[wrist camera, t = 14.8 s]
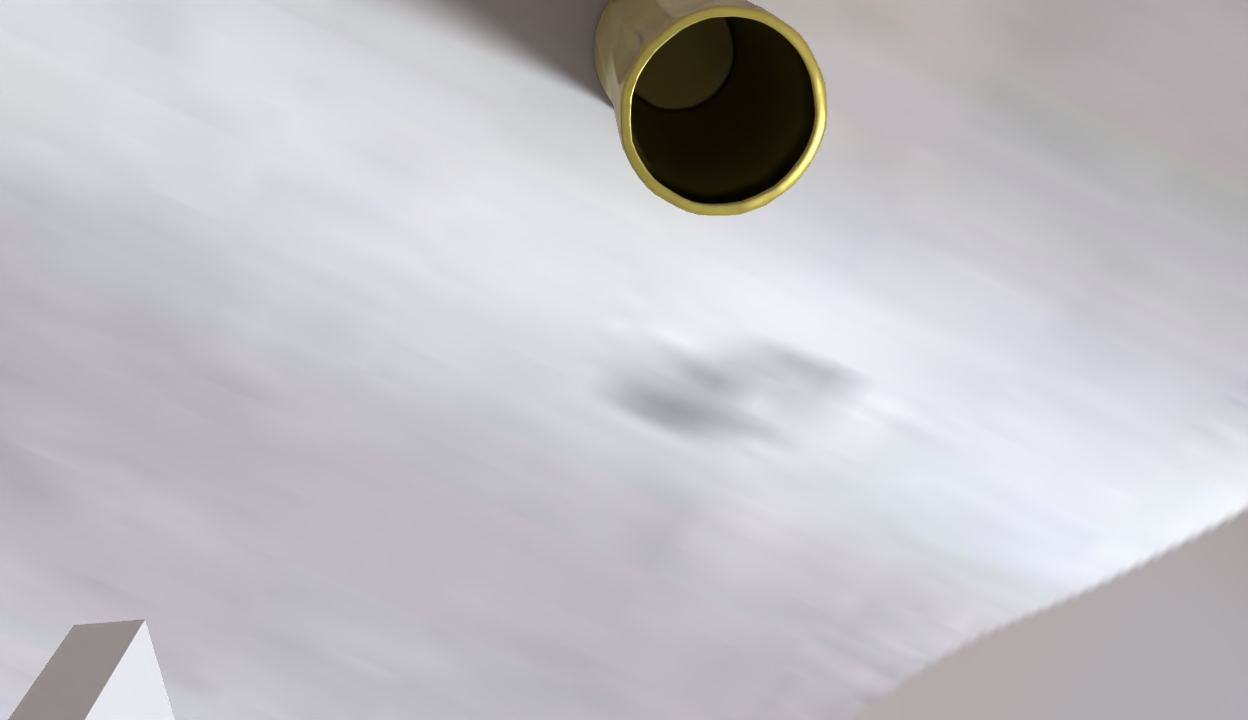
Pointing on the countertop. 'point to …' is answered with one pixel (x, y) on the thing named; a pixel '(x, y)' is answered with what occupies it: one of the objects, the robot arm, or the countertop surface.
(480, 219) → the countertop surface
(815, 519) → the countertop surface
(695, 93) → the vase
